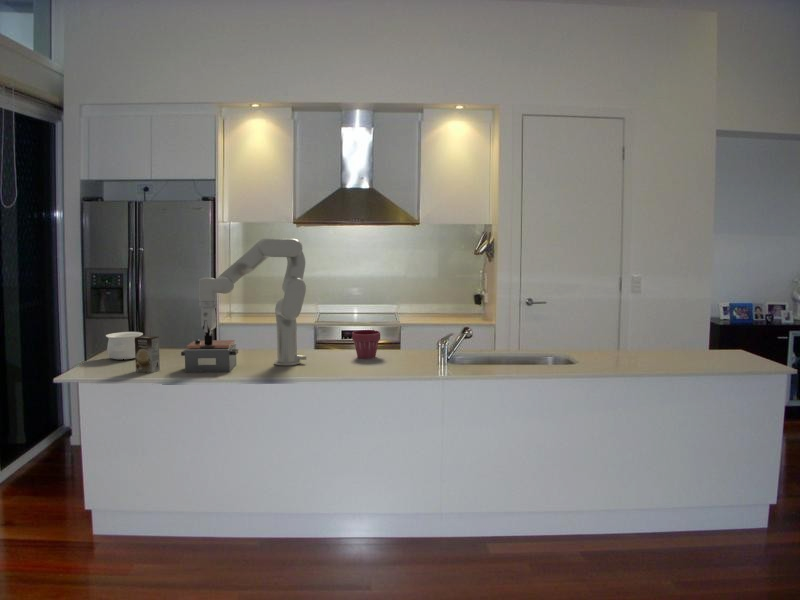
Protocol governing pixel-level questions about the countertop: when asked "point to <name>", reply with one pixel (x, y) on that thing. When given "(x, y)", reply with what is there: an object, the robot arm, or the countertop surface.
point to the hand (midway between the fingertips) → (208, 344)
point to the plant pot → (366, 343)
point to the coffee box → (147, 354)
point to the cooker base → (210, 359)
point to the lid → (214, 344)
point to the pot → (122, 345)
